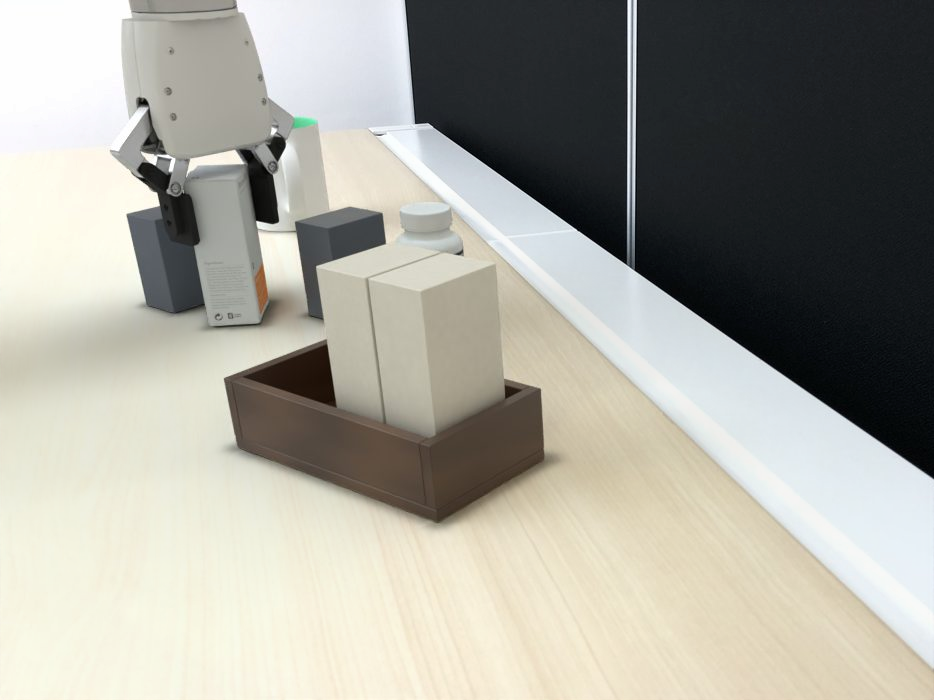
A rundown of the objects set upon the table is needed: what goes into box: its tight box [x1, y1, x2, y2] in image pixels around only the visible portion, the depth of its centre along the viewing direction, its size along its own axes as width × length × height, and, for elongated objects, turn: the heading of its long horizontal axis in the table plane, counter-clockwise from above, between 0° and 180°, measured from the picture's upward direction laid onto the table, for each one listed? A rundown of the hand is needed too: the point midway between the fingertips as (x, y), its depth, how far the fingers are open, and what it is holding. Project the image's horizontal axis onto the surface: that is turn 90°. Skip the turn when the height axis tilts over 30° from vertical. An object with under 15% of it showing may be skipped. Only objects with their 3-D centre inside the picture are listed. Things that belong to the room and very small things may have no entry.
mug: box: [247, 116, 331, 232], centre depth 117 cm, size 12×8×10 cm, turn 26°
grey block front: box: [295, 206, 387, 320], centre depth 92 cm, size 4×6×8 cm, turn 146°
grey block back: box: [125, 205, 205, 314], centre depth 95 cm, size 4×6×8 cm, turn 146°
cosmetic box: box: [183, 163, 270, 327], centre depth 91 cm, size 6×4×12 cm
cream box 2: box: [368, 253, 505, 438], centre depth 64 cm, size 4×6×12 cm, turn 146°
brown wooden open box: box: [223, 338, 546, 523], centre depth 68 cm, size 18×10×5 cm, turn 56°
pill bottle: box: [394, 201, 465, 257], centre depth 88 cm, size 5×5×10 cm
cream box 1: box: [316, 241, 441, 424], centre depth 66 cm, size 4×6×12 cm, turn 146°
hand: (225, 230), depth 90 cm, fingers closed on cosmetic box, 7 cm apart
